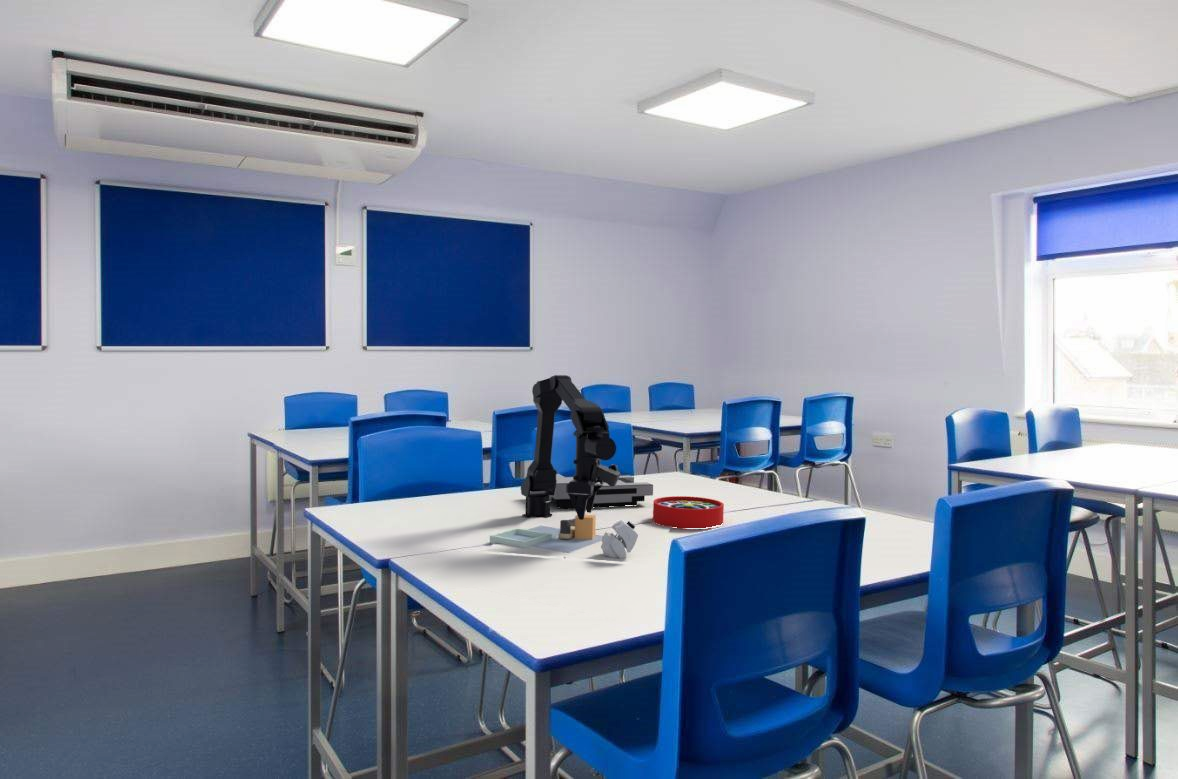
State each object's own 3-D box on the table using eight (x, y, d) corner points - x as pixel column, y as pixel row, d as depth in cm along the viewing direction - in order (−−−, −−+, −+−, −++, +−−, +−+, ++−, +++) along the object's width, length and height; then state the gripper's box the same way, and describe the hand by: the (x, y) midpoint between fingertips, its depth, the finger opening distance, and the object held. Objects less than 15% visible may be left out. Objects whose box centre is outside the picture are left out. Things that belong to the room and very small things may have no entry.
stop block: (577, 535, 208) (578, 514, 207) (595, 536, 207) (595, 515, 206) (574, 538, 204) (575, 516, 204) (592, 539, 203) (592, 517, 203)
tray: (489, 543, 199) (489, 535, 199) (516, 535, 208) (516, 527, 208) (525, 549, 193) (525, 542, 193) (551, 541, 203) (551, 533, 203)
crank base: (494, 541, 201) (494, 539, 201) (541, 527, 218) (541, 525, 218) (568, 555, 189) (568, 552, 189) (611, 539, 206) (611, 536, 206)
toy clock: (692, 494, 244) (738, 505, 227) (692, 513, 244) (737, 526, 227) (639, 499, 233) (683, 511, 216) (638, 519, 233) (682, 533, 216)
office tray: (652, 506, 253) (653, 481, 252) (555, 511, 242) (555, 484, 242) (627, 495, 272) (628, 471, 272) (536, 498, 262) (537, 473, 261)
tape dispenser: (618, 568, 185) (646, 535, 186) (597, 550, 184) (625, 517, 185) (613, 562, 191) (640, 529, 192) (592, 544, 190) (620, 512, 191)
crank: (570, 525, 217) (570, 510, 216) (588, 527, 215) (588, 511, 215) (554, 537, 202) (554, 521, 202) (573, 539, 201) (573, 522, 201)
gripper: (611, 461, 194) (609, 525, 194) (624, 452, 212) (622, 511, 213) (566, 459, 196) (564, 522, 197) (582, 450, 214) (581, 508, 215)
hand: (585, 515), depth 205 cm, fingers open, 9 cm apart
